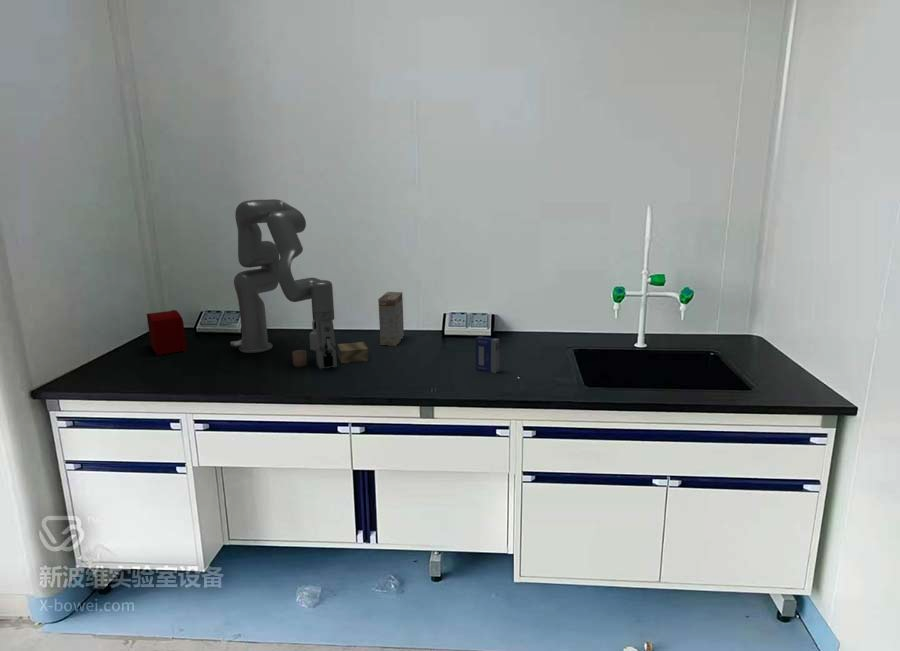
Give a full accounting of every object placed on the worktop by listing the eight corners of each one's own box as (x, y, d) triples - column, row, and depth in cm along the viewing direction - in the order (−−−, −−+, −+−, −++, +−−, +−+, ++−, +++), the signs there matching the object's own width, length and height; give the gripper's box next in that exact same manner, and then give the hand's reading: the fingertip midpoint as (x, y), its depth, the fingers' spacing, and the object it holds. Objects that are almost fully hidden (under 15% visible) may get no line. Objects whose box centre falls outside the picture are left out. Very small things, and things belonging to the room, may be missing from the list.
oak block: (341, 364, 210) (340, 351, 209) (338, 356, 219) (337, 344, 218) (368, 361, 213) (368, 348, 212) (364, 354, 222) (363, 341, 221)
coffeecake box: (388, 336, 247) (386, 291, 242) (404, 336, 246) (403, 291, 241) (379, 345, 232) (377, 298, 227) (396, 346, 231) (395, 299, 226)
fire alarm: (187, 351, 227) (182, 315, 223) (157, 356, 221) (152, 318, 217) (179, 342, 240) (175, 307, 236) (151, 347, 234) (146, 311, 230)
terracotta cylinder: (294, 368, 206) (293, 354, 204) (292, 364, 210) (291, 351, 209) (308, 366, 208) (307, 352, 206) (306, 362, 212) (305, 349, 211)
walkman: (475, 370, 201) (475, 337, 198) (479, 367, 204) (479, 335, 201) (496, 373, 197) (496, 339, 194) (499, 371, 200) (499, 337, 197)
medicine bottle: (333, 346, 232) (331, 317, 229) (327, 351, 225) (325, 321, 223) (316, 345, 233) (314, 317, 230) (310, 350, 226) (308, 321, 223)
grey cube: (320, 369, 204) (319, 353, 202) (316, 364, 209) (315, 348, 208) (336, 366, 206) (335, 350, 205) (333, 362, 212) (332, 346, 210)
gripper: (339, 319, 197) (342, 369, 201) (328, 309, 212) (331, 356, 217) (317, 321, 194) (321, 372, 198) (308, 311, 209) (311, 358, 214)
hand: (326, 363), depth 207 cm, fingers closed on grey cube, 6 cm apart
